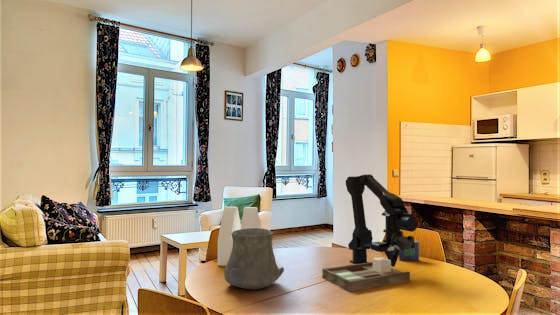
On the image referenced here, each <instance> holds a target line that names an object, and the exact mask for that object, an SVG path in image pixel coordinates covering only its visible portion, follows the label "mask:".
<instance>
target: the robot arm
mask: <svg viewBox="0 0 560 315" xmlns="http://www.w3.org/2000/svg"><path fill="white" fill-rule="evenodd" d="M345 186H346V190H347V193H348V194H350V198H351V204H352V205H351V206H352V211H353V212H352V213H353V222H354V229H353V232H352V236H351V237H352V239H351V240H350V242H349V243H348V244H347V245H348V250H351V251H352V260H349V262H350V263H352V264H353V265H354V264H361V263H369V262H370V261H368V253H367V250H372V251H374V252H375V251H376V252H377V253H378V252H379V253H383V252H384V254H385V256H386V259H389V260H391V268H392V267H393V268H394V267H395V266H396V264H397V261H398V259H399V254H400V253H401V252H402V251H404V250H405V249H410V248H415V243H414V241H415V237H414V236H413V235H408V236H405V235H404V232H403V231H406V232H412V233H413V232H415V231H416V230H417V229H418V222H417V219H416V218H415V217H414V213H409V211H408V209H407V208H406V206H405V204H404V202H403V198H401V196H399V195H397V194H395V193H392V192H390V191H388V190H387V189H386V188H385V187H384V186H383V185H382V184H381V183H380V182H379V181H378V180H377V179H375V177H374V176H373V175H372V174H362V175H358V176H348V177H347V178H346V179H345ZM365 187H366V188H368V189H369V191H371V192H372V194H373V195H374V196H376V197H377V198H378V200H379V204H380V206H381V208H383V210H384V211H383V212H382V213H381V216H383V217H385V218H384V220H385V228H384V229H383V233H385V239H383V242H382V241H373V239H374V238H373V235H372V234H373V232H372V230H371V229H369V228H368V226H367V222H366V214H365V206H364V200H363V194H364V192H365V189H366V188H365Z"/></svg>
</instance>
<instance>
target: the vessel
mask: <svg viewBox="0 0 560 315" xmlns="http://www.w3.org/2000/svg"><path fill="white" fill-rule="evenodd" d="M231 235H232V239H233V247H232V251H231V254H230V257H229V260H228V262H227V265H226V266H225V267H224V272H223V277H224V280H225V281H226V283H227V284H229V285H231V286H234V287H238V288H242V289H248V290H259V289H260V290H261V289H265V288H267V287H270V286H271V285H272V284H273V283H275V282H276V281H277V280H278V279H280V277H281V276H282V275H283V273H284V271H285V268H284V267H283V266H282V267H278V265H277V262H276V256H275V254H274V248H273V236H274V231H271V230H270V229H266V228H261V229H260V228H248V229H241V230H236V231H234V232H232V233H231Z"/></svg>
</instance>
